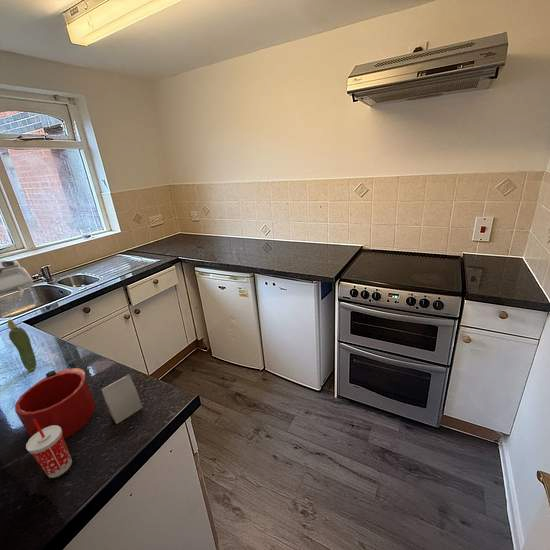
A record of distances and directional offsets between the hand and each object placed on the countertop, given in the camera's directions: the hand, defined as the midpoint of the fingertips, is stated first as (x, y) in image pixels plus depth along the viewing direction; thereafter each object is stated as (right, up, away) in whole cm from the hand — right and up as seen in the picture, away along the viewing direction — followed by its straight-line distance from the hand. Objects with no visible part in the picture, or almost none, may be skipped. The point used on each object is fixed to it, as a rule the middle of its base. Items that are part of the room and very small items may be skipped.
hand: (3, 304), depth 102 cm
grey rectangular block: (+54, -26, -24) cm, 64 cm away
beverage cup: (+46, -32, -37) cm, 67 cm away
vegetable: (+11, -22, -1) cm, 25 cm away
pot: (+37, -28, -24) cm, 52 cm away
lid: (+26, -24, -11) cm, 37 cm away
